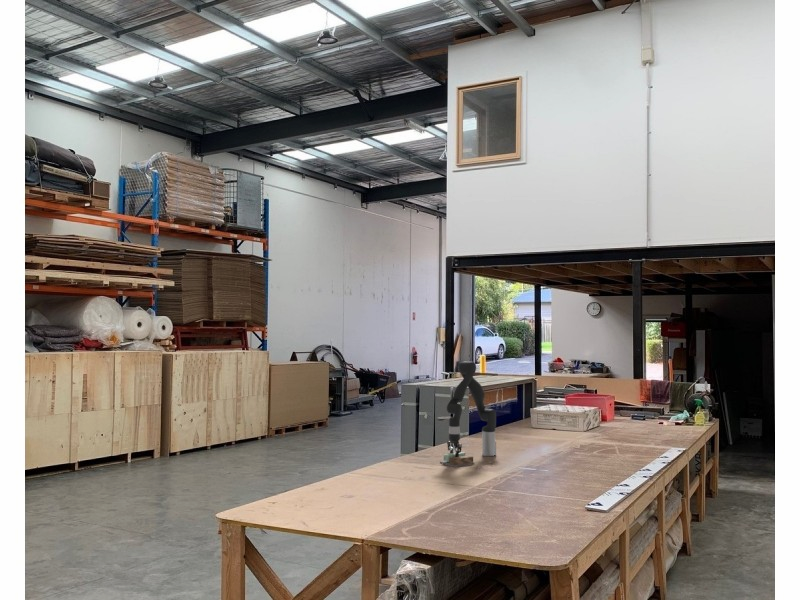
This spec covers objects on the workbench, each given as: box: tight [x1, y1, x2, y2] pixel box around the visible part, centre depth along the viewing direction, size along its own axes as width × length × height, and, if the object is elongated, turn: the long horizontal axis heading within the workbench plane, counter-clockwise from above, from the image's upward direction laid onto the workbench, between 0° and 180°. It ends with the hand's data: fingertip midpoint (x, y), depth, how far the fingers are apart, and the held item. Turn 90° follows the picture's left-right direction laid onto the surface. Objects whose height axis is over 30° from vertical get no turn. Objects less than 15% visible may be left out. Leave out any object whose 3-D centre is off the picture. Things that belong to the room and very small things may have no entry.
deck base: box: [439, 460, 475, 468], centre depth 444 cm, size 18×15×1 cm
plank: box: [443, 451, 466, 462], centre depth 447 cm, size 16×5×4 cm, turn 130°
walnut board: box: [450, 454, 474, 465], centre depth 440 cm, size 16×5×4 cm, turn 121°
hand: (454, 457), depth 447 cm, fingers closed on plank, 5 cm apart
